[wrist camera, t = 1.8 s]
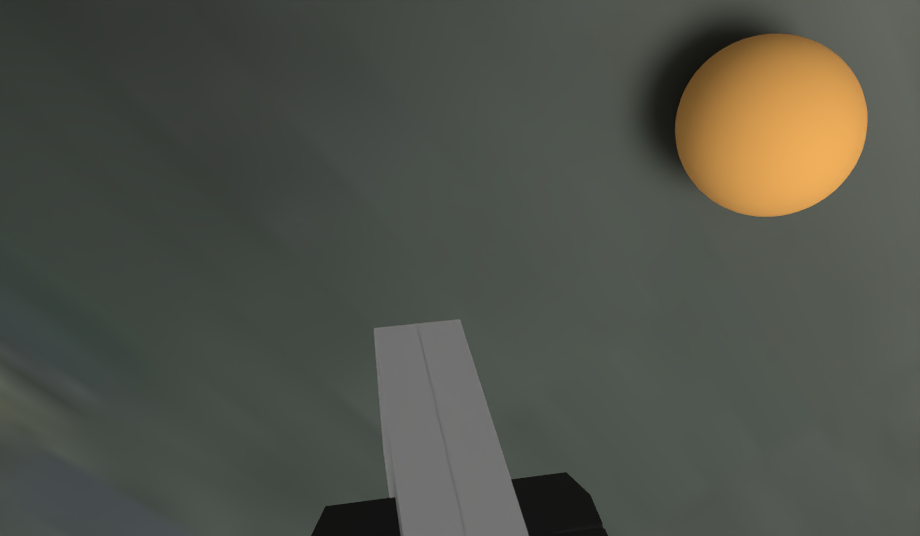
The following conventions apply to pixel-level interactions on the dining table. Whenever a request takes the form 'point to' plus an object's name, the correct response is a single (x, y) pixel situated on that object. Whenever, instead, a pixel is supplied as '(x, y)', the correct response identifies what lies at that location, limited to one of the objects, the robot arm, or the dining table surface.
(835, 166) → the ball
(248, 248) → the dining table surface
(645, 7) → the dining table surface
